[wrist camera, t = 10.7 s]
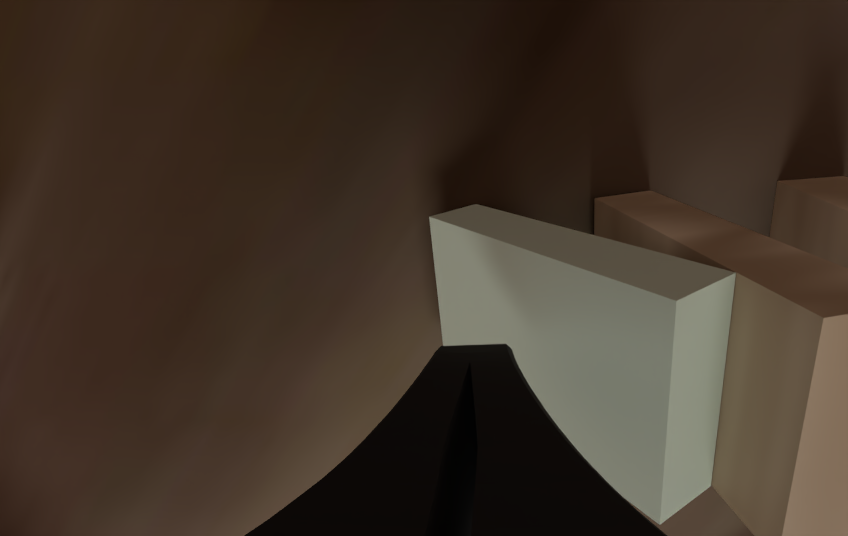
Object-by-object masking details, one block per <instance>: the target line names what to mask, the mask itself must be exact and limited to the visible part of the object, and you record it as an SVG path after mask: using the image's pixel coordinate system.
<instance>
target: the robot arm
mask: <svg viewBox="0 0 848 536" xmlns="http://www.w3.org/2000/svg"><path fill="white" fill-rule="evenodd" d="M245 536H667V535H666V534H664V533H663V532H662V531H661V530H660V529H659V528H657V527H656V526H655V525H654V524H653V523H651V522H650V521H649V520H648V519H647V518H645V517H644V516H643V515H642V514H641V513H640V512H638V511H637V510H636V509H635V508H634V507H633V506H632V505H631V504H630V503H629V502H627V501H626V500H625V499H624V498H623V497H622V496H621V495H620V494H619V493H618V492H617V491H616V490H615V489H614V488H613V487H612V486H611V485H610V484H609V483H608V482H607V481H606V480H605V479H604V478H603V477H602V476H601V475H600V474H599V473H598V472H597V471H596V470H595V469H594V468H593V467H592V466H591V465H590V464H589V462H588V461H587V460H586V459H585V458H584V457H583V456H582V455H581V454H580V452H579V451H578V450H577V449H576V448H575V447H574V445H573V444H572V443H571V442H570V441H569V439H568V438H567V437H566V436H565V434H564V433H563V432H562V431H561V429H560V428H559V427H558V426H557V424H556V423H555V422H554V420H553V419H552V418H551V416H550V415H549V414H548V412H547V411H546V410H545V408H544V407H543V405H542V404H541V402H540V401H539V399H538V398H537V396H536V395H535V393H534V392H533V390H532V389H531V387H530V385H529V384H528V382H527V381H526V379H525V377H524V375H523V373H522V372H521V370H520V368H519V366H518V364H517V362H516V359H515V357H514V354H513V351H512V349H511V348H510V347H509V346H508V345H507V344H484V345H456V346H441V347H440V348H439V349H438V350H437V351H436V352H435V353H434V355H433V356H432V358H431V359H430V361H429V362H428V363H427V365H426V366H425V368H424V369H423V370H422V372H421V373H420V375H419V376H418V377H417V379H416V380H415V381H414V383H413V384H412V385H411V386H410V388H409V389H408V390H407V391H406V393H405V394H404V395H403V396H402V398H401V399H400V400H399V401H398V403H397V404H396V405H395V406H394V407H393V409H392V410H391V411H390V412H389V413H388V414H387V416H386V417H385V418H384V419H383V420H382V421H381V422H380V423H379V424H378V425H377V426H376V427H375V429H374V430H373V431H372V432H371V433H370V434H369V435H368V436H367V437H366V438H365V439H364V440H363V441H362V442H361V443H360V444H359V445H358V446H357V447H356V448H355V449H354V450H353V451H352V452H351V453H350V454H349V455H348V456H347V457H346V458H345V459H344V460H343V461H342V462H341V463H340V464H338V465H337V466H336V467H335V468H334V469H333V470H332V471H330V472H329V473H328V474H327V475H326V476H325V477H323V478H322V479H321V480H320V481H319V482H317V483H316V484H315V485H313V486H312V487H311V488H310V489H308V490H307V491H306V492H304V493H303V494H302V495H300V496H299V497H298V498H296V499H295V500H294V501H292V502H291V503H290V504H288V505H287V506H286V507H284V508H283V509H282V510H280V511H279V512H278V513H276V514H275V515H274V516H272V517H271V518H270V519H268V520H267V521H265V522H264V523H263V524H261V525H260V526H258V527H257V528H255V529H254V530H252V531H251V532H249V533H248V534H246V535H245Z"/></svg>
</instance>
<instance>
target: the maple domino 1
mask: <svg viewBox="0 0 848 536" xmlns="http://www.w3.org/2000/svg"><path fill="white" fill-rule="evenodd" d="M594 235H595V236H599V237H603V238H607V239H611V240H614V241H618V242H622V243H626V244H630V245H633V246H637V247H641V248H645V249H648V250H652V251H656V252H660V253H664V254H667V255H671V256H675V257H679V258H683V259H686V260H690V261H694V262H698V263H701V264H705V265H709V266H713V267H717V268H720V269H724V270H728V271H732V272H736V277H735V286H734V294H733V303H732V311H731V320H730V328H729V337H728V345H727V354H726V362H725V371H724V379H723V388H722V396H721V405H720V413H719V422H718V430H717V439H716V447H715V455H714V464H713V472H712V481H711V486H712V487H713V488H714V489H715V490H716V491H717V493H718V494H719V495H720V496H721V497H722V498H723V500H724V501H725V502H726V503H727V504H728V505H729V507H730V508H731V509H732V510H733V511H734V512H735V513H736V515H737V516H738V517H739V518H740V519H741V520H742V522H743V523H744V524H745V525H746V526H747V527H748V529H749V530H750V531H751V532H752V533H753V534H754V536H848V268H845V267H843V266H840V265H838V264H835V263H833V262H830V261H828V260H825V259H823V258H820V257H817V256H815V255H812V254H810V253H807V252H805V251H802V250H800V249H797V248H795V247H792V246H790V245H787V244H785V243H782V242H780V241H777V240H775V239H772V238H770V237H767V236H764V235H762V234H759V233H757V232H754V231H752V230H749V229H747V228H744V227H742V226H739V225H737V224H734V223H732V222H729V221H727V220H724V219H722V218H719V217H717V216H714V215H711V214H709V213H706V212H704V211H701V210H699V209H696V208H694V207H691V206H689V205H686V204H684V203H681V202H679V201H676V200H674V199H671V198H669V197H666V196H664V195H661V194H659V193H656V192H653V191H651V190H650V191H642V192H635V193H628V194H621V195H614V196H607V197H599V198H595V208H594Z"/></svg>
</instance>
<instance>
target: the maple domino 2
mask: <svg viewBox="0 0 848 536" xmlns="http://www.w3.org/2000/svg"><path fill="white" fill-rule="evenodd" d="M769 237H770V238H772V239H775V240H777V241H780V242H782V243H785V244H787V245H790V246H792V247H795V248H797V249H800V250H802V251H805V252H807V253H810V254H812V255H815V256H817V257H820V258H823V259H825V260H828V261H830V262H833V263H835V264H838V265H840V266H843V267H845V268H848V177H846V176H836V177H823V178H809V179H796V180H783V181H777V186H776V194H775V201H774V208H773V215H772V222H771V229H770V236H769Z"/></svg>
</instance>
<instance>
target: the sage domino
mask: <svg viewBox="0 0 848 536" xmlns="http://www.w3.org/2000/svg"><path fill="white" fill-rule="evenodd" d="M429 220H430V229H431V238H432V247H433V257H434V266H435V275H436V284H437V293H438V302H439V311H440V321H441V330H442V339H443V346H456V345H484V344H507V345H508V346H509V347H510V348H511V349H512V351H513V354H514V357H515V359H516V362H517V364H518V366H519V368H520V370H521V372H522V373H523V375H524V377H525V379H526V381H527V382H528V384H529V385H530V387H531V389H532V390H533V392H534V393H535V395H536V396H537V398H538V399H539V401H540V402H541V404H542V405H543V407H544V408H545V410H546V411H547V412H548V414H549V415H550V416H551V418H552V419H553V420H554V422H555V423H556V424H557V426H558V427H559V428H560V429H561V431H562V432H563V433H564V434H565V436H566V437H567V438H568V439H569V441H570V442H571V443H572V444H573V445H574V447H575V448H576V449H577V450H578V451H579V452H580V454H581V455H582V456H583V457H584V458H585V459H586V460H587V461H588V462H589V464H590V465H591V466H592V467H593V468H594V469H595V470H596V471H597V472H598V473H599V474H600V475H601V476H602V477H603V478H604V479H605V480H606V481H607V482H608V483H609V484H610V485H611V486H612V487H613V488H614V489H615V490H616V491H617V492H618V493H619V494H620V495H621V496H622V497H624V498H625V499H626V500H628V501H629V502H630V503H632V504H633V505H634V506H636V507H637V508H638V509H640V510H641V511H642V512H644V513H645V514H646V515H648V516H649V517H650V518H652V519H653V520H654V521H656V522H657V523H658V524H661V523H663V522H664V521H665V520H667V519H668V518H669V517H671V516H672V515H673V514H675V513H676V512H677V511H679V510H680V509H681V508H682V507H684V506H685V505H686V504H688V503H689V502H690V501H692V500H693V499H694V498H696V497H697V496H698V495H700V494H701V493H702V492H703V491H705V490H706V489H707V488H709V487H710V486H711V481H712V472H713V464H714V455H715V447H716V439H717V430H718V422H719V413H720V405H721V396H722V388H723V379H724V371H725V362H726V354H727V345H728V337H729V328H730V320H731V311H732V303H733V294H734V286H735V277H736V272H732V271H728V270H724V269H720V268H717V267H713V266H709V265H705V264H701V263H698V262H694V261H690V260H686V259H683V258H679V257H675V256H671V255H667V254H664V253H660V252H656V251H652V250H648V249H645V248H641V247H637V246H633V245H630V244H626V243H622V242H618V241H614V240H611V239H607V238H603V237H599V236H595V235H592V234H588V233H584V232H580V231H577V230H573V229H569V228H565V227H561V226H558V225H554V224H550V223H546V222H542V221H539V220H535V219H531V218H527V217H524V216H520V215H516V214H512V213H508V212H505V211H501V210H497V209H493V208H489V207H486V206H482V205H478V204H474V205H470V206H467V207H463V208H459V209H456V210H452V211H448V212H444V213H441V214H437V215H433V216H430V217H429Z"/></svg>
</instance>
